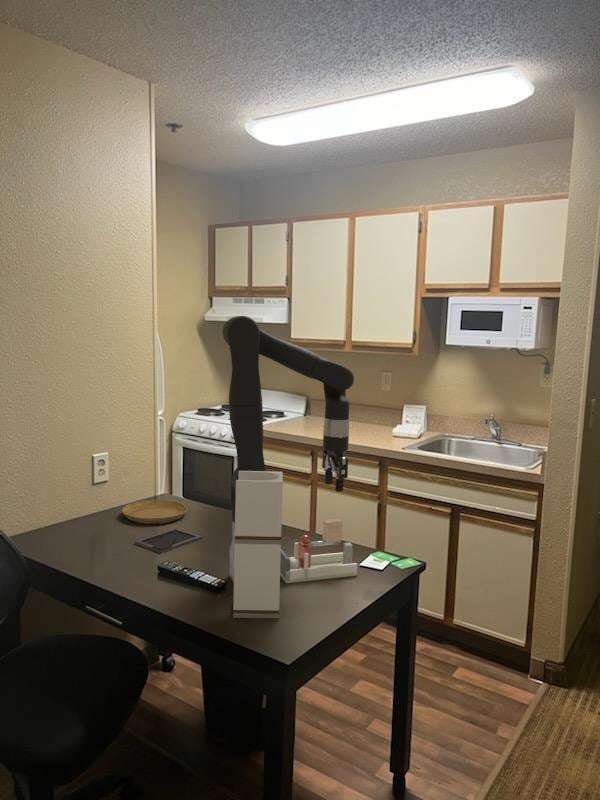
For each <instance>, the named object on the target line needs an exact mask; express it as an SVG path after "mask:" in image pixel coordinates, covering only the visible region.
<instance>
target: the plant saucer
mask: <svg viewBox="0 0 600 800" xmlns="http://www.w3.org/2000/svg"><path fill="white" fill-rule="evenodd" d="M121 511H122V514H123V515H124V516H125V518H127V519H128V520H129V521H131V522H134V523H137V524H143V525H158V524H167V523H171V522H175V521H178V520H179V519H181V518H182V517H183V516H184V515H185V514H186V513H187V511H188V506H187V505H186V504H184V503H182V502H178V501H175V500H165V499H164V500H163V499H153V500H152V499H150V500H142V501H135V502H132V503H129V504H127V505H125V506H123V507H122V509H121Z"/></svg>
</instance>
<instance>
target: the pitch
mask: <svg viewBox="0 0 600 800" xmlns="http://www.w3.org/2000/svg"><path fill="white" fill-rule="evenodd" d="M293 547H294V548H293V549H294V550H293V556H291V557H289V556H288V555H287V553H286V552H285V551H284V550H283V548H281V560H280V578H282V580H283V581H284V583H286V584H290V583H292V584H293V583H299V582H300V583H301V582H309V581H318V580H319V581H320V580H327V579H338V578H345V577H346V578H347V577H354V576H356V577H357V575H358V563H356V562H354V563H353V550H354V549H353V548H354V545H353V544H352V543H351V542H349V541H348V542H343V549H342V550H343V551H342V552H334V553H333V552H331V553H323V554H311V565H310V568H308V555H309V554H308V553H304V568H301V567H300V569H291V570H290V559H292V558H295V559H298V560H299V542H294V546H293Z"/></svg>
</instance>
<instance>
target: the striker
mask: <svg viewBox="0 0 600 800" xmlns="http://www.w3.org/2000/svg"><path fill="white" fill-rule="evenodd" d="M342 537H343V521H342V520H341V519H340V518H328V519H323V520H322V537H321V538H322V539H321V540H317V541H316V540H315V541H310V536H309V535H307V534H304V535H302V536H300V541H299V542H298V543H299V548H298V557H299V562H300V567H301V568H304V553H308V554H309V555H308V568H310V565H311V555H312V547H320V546H321V547H323V546H333V545H340V544H341V542H342V540H343V539H342Z"/></svg>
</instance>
